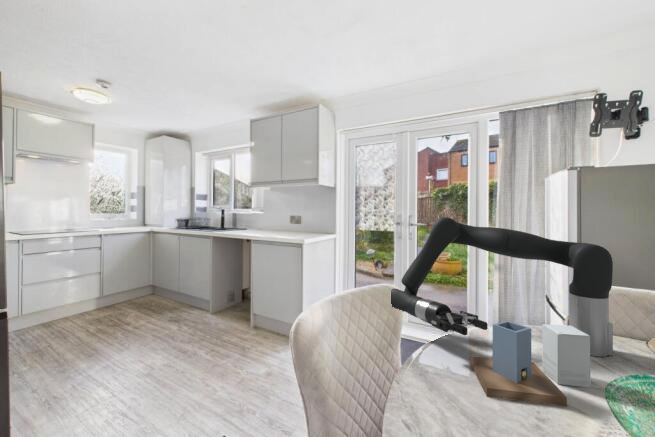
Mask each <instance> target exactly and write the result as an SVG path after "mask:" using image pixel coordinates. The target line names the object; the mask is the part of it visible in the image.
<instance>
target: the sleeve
mask: <svg viewBox="0 0 655 437" xmlns="http://www.w3.org/2000/svg"><path fill="white" fill-rule="evenodd" d="M492 358H493V372H495V373H497V374H499V375H501V376H504V377H506V378H508V379H510V380H512V381H514V382H516V383H518V382H521V369H522V370H525V371H526V378H527V379H528V378H530V377H531V362H532V327H528V326H525V325H522V324H520V323H515V322H512V321H509V320H504V321H500V322H497V323H494V324H492Z"/></svg>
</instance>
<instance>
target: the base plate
mask: <svg viewBox="0 0 655 437" xmlns="http://www.w3.org/2000/svg"><path fill="white" fill-rule="evenodd" d="M469 364H470V367H471V368H472V370H473V372H474V374H475V376H476V379H477V380H478V382H479V384H480V386H481V388H482V390H483V392H484V394H485V396H486V397H488V398H489V397H490V398H496V399H504V400H512V401H520V402H530V403H536V404H545V405H551V406H559V407H560V406H561V407H568V396H566V394H564V393H563V392H562V390H560V389H559V387H558V386H557V385H556V384H555V383H554V382H553V381H552V380H551V379H550V378H549V377H548V375H547V374H545V372H544V371H543V370H541V369H540V368H539V366H538V365H536V363H535V362H533V361H531V377H530V378H528V379H527V378H526V380H525V381H524V380H521V382H518V383H516V382H514V381H512V380H510V379H508V378H506V377H504V376H501V375H499V374H497V373H495V372H493V357H492V358H491V357H484V356H473V355H469Z"/></svg>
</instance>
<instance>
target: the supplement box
mask: <svg viewBox="0 0 655 437" xmlns="http://www.w3.org/2000/svg"><path fill="white" fill-rule="evenodd" d="M541 329H542V330H541V331H542V333H541V334H542V339H541V340H542V372H543V373H546V375H547V376H549V377H550V378H551V379H552V380H553V381H554V382H555V383H556V384H558V385H562V386H563V385H565V386H573V387H582V388H583V387H584V388H591V355H590V336H589V335H587V334H585V333H584V332H582V331H580V330H578V329H576V328H575V327H573V326H569V325H565V324H563V325H562V324H547V323H545V324H544V323H543V324H542V328H541Z"/></svg>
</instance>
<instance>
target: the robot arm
mask: <svg viewBox="0 0 655 437" xmlns="http://www.w3.org/2000/svg"><path fill="white" fill-rule="evenodd" d="M450 244H457V245H465V246H470V247H474V248H476V249H479V250H482V251H486V252H489V253H493V254H496V255H500V256H506V257H509V258H516V259H523V260H530V261H531V260H534V261H546V262H550V263H555V264H558V265H562V266H565V267H569V268H572V272H573V273H572V281H571V282H570V284H569V285H568V301H569V302H568V305H569V307H568V314H569V316H568V317H569V318H568V320H569V324H568V326H573V327H575V328H576V329H578V330H580V331H582V332H584V333H585V334H587V335H589V336H590V356H592V357H593V356H594V357H602V358H603V357H608V356H607V355H609V356H611V355H613V356H614V345H613V344H614V339H613V338H614V336H613V335H614V325H613V323H612V322H610V298H609V297H610V295H609V294H610V291H611V289H612V286H613V274H614V273H613V272H614V271H613V270H614V269H613V268H614V266H613V265H614V263H613V258H612V254H611V253H610V252H609V250H607V249H606V248H605V247H604V246H601V245H598V244H595V243H588V242H577V241H576V242H572V241H563V240H555V239H549V238H546V237H542V236H539V235H537V234H533V233H529V232H525V231H521V230H515V229H510V228H503V227H502V228H501V227H489V226H488V227H487V226H474V225H469V224H464V223H461V222H457V221H456V220H454V219H453V218H451V217H441V218H438V219H437V220H436V221H434V223H433V224H432V227H431V230H430V233H429V236H428V238H427V240H426V242H425V243H424V245H423V246H422V249H421V250H420V252H419V253H418V254H417V256H416V257H415V259H414V260H413V261H412V263H411V264H410V266H409V267H408V269H407V270H406V272H404V274H403V276H402V278H401V284H402V285H403V286H404V291H403V290H401V289H398V288H391V289H392V290H391V289H390V290H391V304H392V307H391V308H393V307H394V308H393V309H397V310H398V309H399V310H398V311H400V310H402V311H401V312H405V313H406V314H409V315H411V316H413V317H414V318H418V319H420V320H421V321H423V322H424V323H427V324H430V325H431V326H432V327H434V328H436V329H438V330H441V332H442V331H443V332H444V333H445V332H446V333H447V332H449V331H450V332H453V333H454V332H456V334H457V333H458V334H461V335H463V336H467V335H468V326H472V327H475V328H478V329H480V330H482V331H483V330H484V331H487V330H488V327H489V326H488V323H487V321H484V320H481V319H479V315H477V314H473V313H470V312H466V311H464V310H460V311H459V312H457V311H452V309H451V308H450V307H449V305H447V304H445V303H442V302H438V301H436V300H432V299H430V298H424V297H421V296H418V293H419V289H420V287H421V286H422V284H423V283H424V282H425V280H426V279H427V278H428V276H429V274H430V272H431V270H432V268H433V267H434V264H435V263H436V262H437V260H438V258H439V257H440V256H441V254H442V253H443V252H444V250H445V249H446V248H447V247H448V246H449V245H450Z"/></svg>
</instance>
